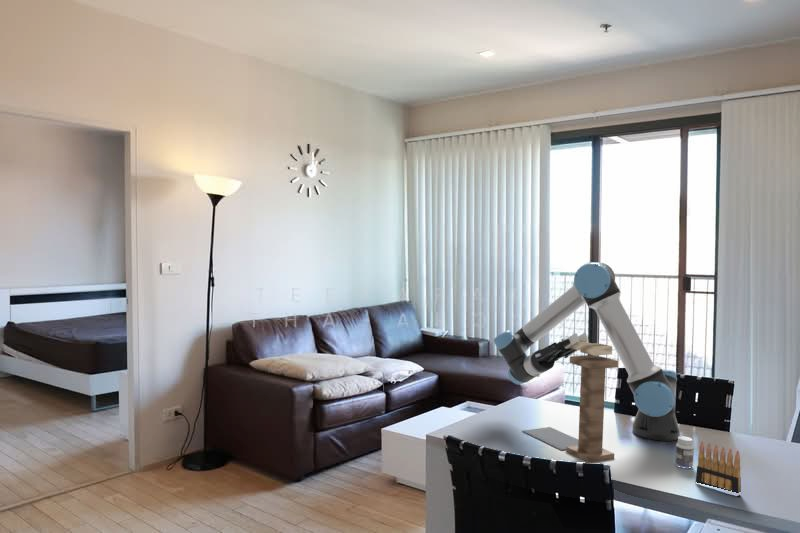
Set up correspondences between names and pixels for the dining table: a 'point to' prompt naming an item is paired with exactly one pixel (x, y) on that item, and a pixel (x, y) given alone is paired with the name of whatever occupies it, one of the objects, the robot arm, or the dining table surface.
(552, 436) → the mat
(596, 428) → the stand
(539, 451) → the dining table surface
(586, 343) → the paddle
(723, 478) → the ammunition clip
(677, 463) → the pill bottle
